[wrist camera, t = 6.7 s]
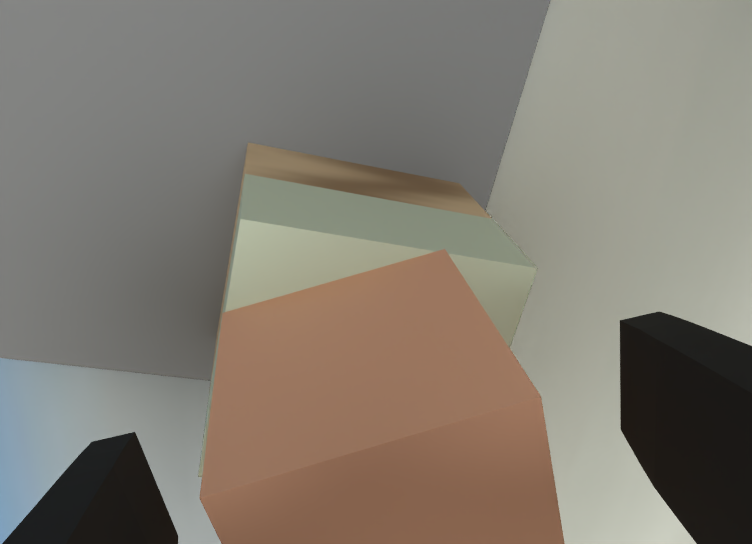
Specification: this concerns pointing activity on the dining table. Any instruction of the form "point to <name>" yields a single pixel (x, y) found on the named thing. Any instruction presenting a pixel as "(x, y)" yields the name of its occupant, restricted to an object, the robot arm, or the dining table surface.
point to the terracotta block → (376, 419)
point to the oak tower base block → (352, 184)
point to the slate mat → (214, 145)
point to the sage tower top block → (362, 249)
